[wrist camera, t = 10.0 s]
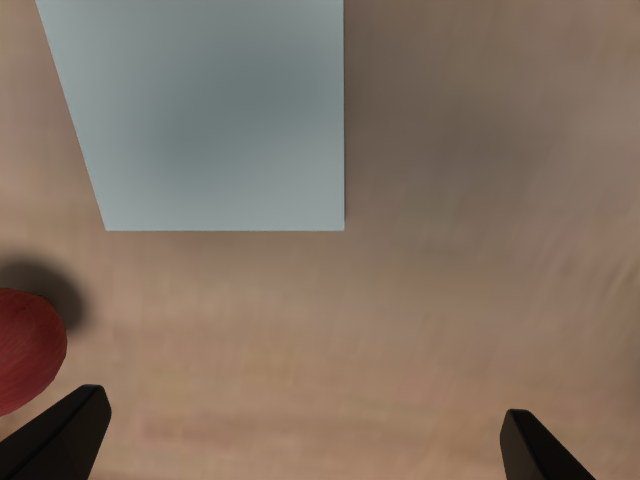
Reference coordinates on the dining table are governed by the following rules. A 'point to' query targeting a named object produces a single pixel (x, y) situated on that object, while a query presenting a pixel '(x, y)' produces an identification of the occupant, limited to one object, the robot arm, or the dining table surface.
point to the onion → (28, 347)
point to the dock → (206, 110)
